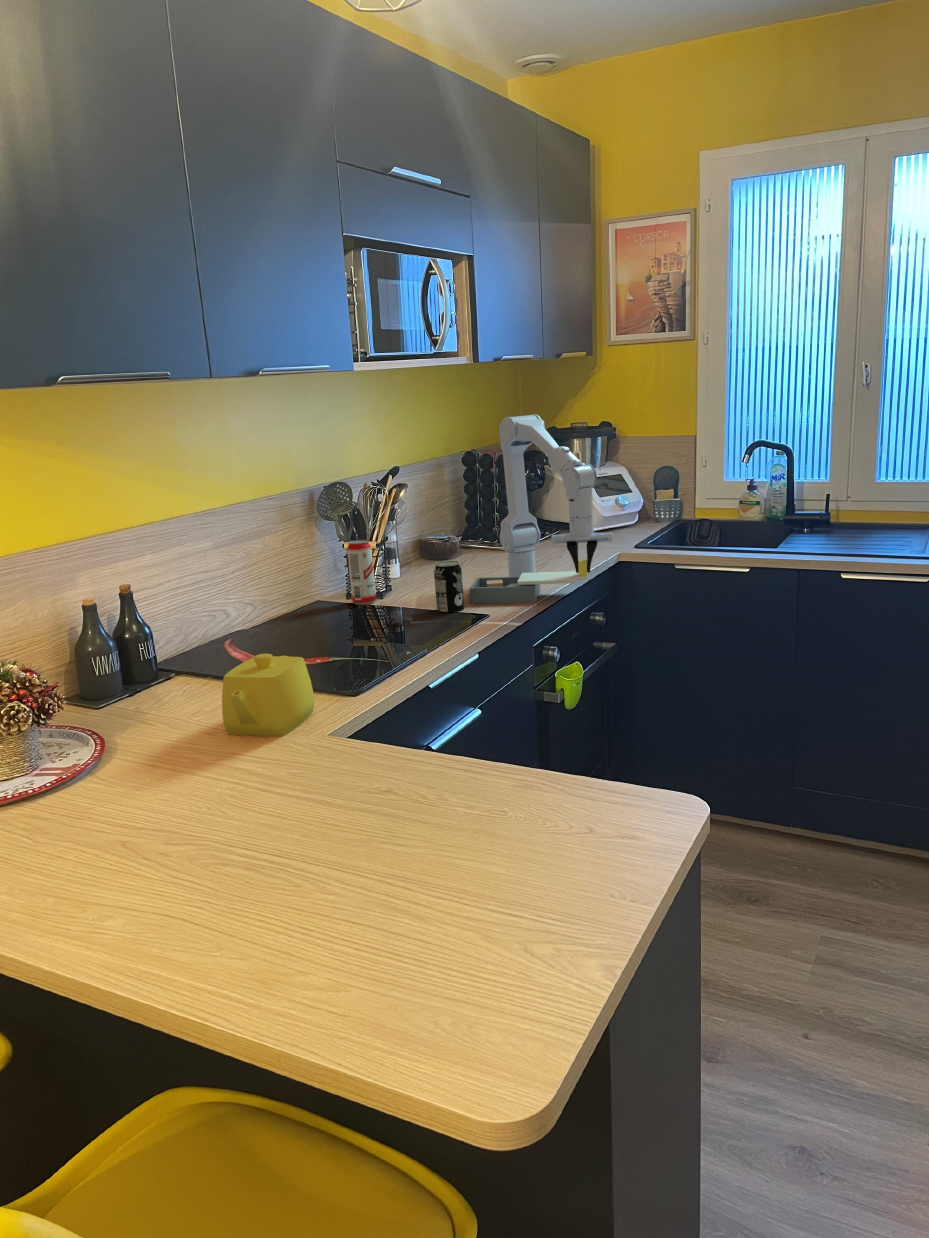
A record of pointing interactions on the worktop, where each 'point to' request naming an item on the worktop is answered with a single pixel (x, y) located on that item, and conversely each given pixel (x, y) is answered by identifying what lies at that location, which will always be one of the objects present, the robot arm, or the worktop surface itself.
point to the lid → (555, 576)
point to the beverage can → (448, 587)
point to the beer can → (361, 572)
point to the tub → (502, 591)
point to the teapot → (267, 696)
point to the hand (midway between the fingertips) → (583, 571)
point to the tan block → (494, 583)
